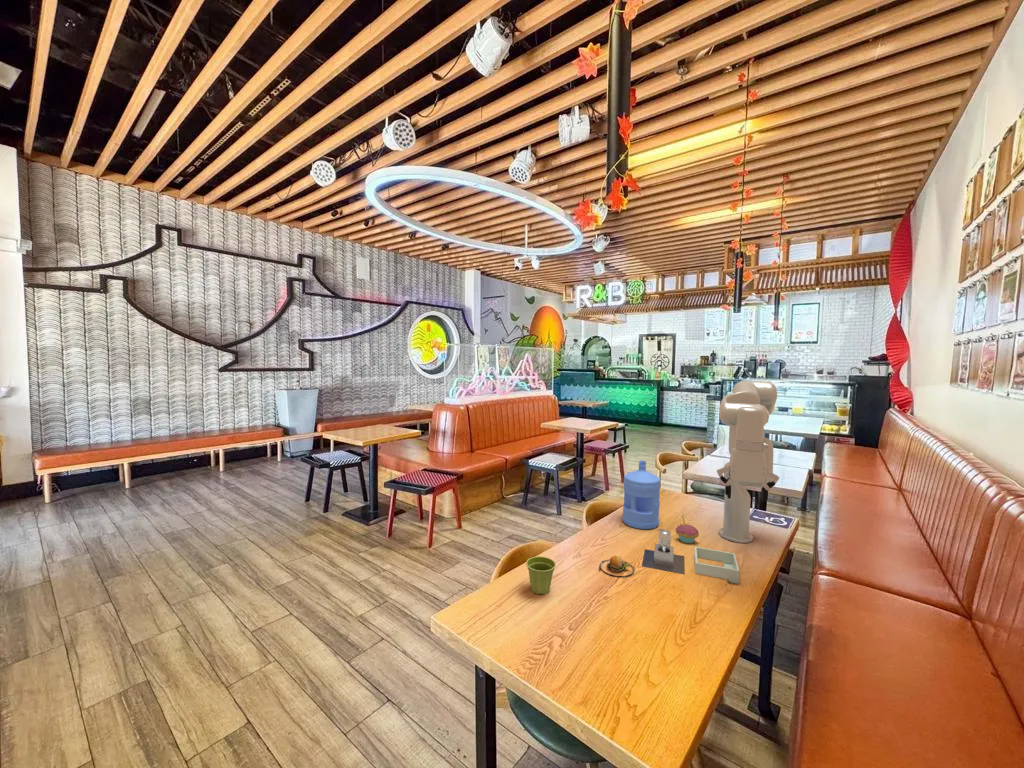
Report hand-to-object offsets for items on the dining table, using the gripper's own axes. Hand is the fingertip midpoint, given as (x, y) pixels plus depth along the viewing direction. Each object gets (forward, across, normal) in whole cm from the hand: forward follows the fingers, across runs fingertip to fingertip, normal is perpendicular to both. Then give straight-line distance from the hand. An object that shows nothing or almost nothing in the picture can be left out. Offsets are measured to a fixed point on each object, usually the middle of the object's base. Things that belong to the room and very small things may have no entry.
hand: (745, 499), depth 133 cm
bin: (+30, +6, -10) cm, 32 cm away
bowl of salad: (+31, +39, +3) cm, 50 cm away
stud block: (+30, +24, -9) cm, 39 cm away
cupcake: (+30, +15, -30) cm, 45 cm away
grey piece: (+29, +24, -9) cm, 38 cm away
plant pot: (+30, +60, +24) cm, 71 cm away
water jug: (+30, +34, -44) cm, 63 cm away
